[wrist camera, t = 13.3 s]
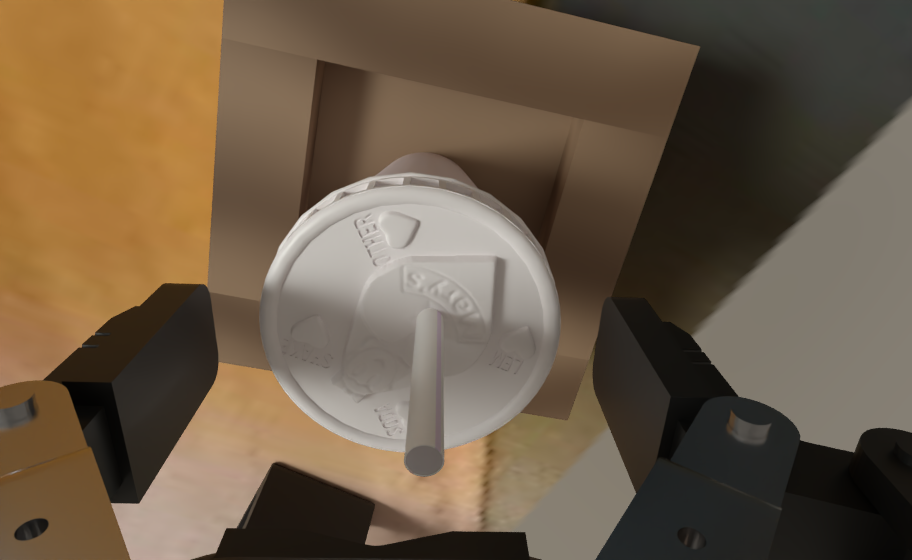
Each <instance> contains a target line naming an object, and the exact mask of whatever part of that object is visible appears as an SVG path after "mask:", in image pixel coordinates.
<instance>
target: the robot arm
mask: <svg viewBox="0 0 912 560" xmlns="http://www.w3.org/2000/svg"><path fill="white" fill-rule="evenodd" d="M218 360H219V358H218V347H217V340H216V333H215V325H214V318H213V311H212V303H211V297H210V293H209V290H208V288H207V287H206V286H205V285H204V284H173V283H165V284H163V285H161V286H160V287H159V288H158V289H157V290H156V291H155V292H154V293H153V294H152V295H151V296H150V297H149V298H148V299H147V300H146V301H145V302H144V303H143V304H141V305H140V306H135V307H133V308H131V309H129V310H127V311H125V312H123V313H121V314H119V315H117V316H115V317H113V318H111V319H110V320H109V321H107V322H106V323H105V324H104V325H103V326H102V327H101V328H100V329H99V330H98V331H96V332H95V336H93V335H92V336H91V337H90V338H89V339H88V340H87V341H85V342H84V343H83V344H82V348H78V349H77V350H76V351H74V352H73V353H72V354H71V355H70V356H69V357H68V358H67V359H66V360H65V361H63V362H62V363H61V364H60V365H59V366H58V367H57V368H56V369H55V370H54V371H52V372H51V373H50V374H49V375H48V376H47V377H46V378H45V379H44V380H43V381H26V382H20V383H15V384H11V385H7V386H4V387H0V560H131V559H130V557H129V554H128V551H127V548H126V545H125V542H124V540H123V537H122V534H121V531H120V528H119V525H118V522H117V520H116V517H115V514H114V511H113V508H112V505H111V503H136V504H139V503H140V501H141V500H142V498H143V496H144V495H145V493H146V491H147V490H148V488H149V487H150V485H151V483H152V482H153V480H154V479H155V477H156V475H157V474H158V472H159V471H160V469H161V467H162V466H163V464H164V463H165V461H166V459H167V458H168V456H169V454H170V453H171V451H172V450H173V448H174V446H175V445H176V443H177V442H178V440H179V438H180V437H181V435H182V434H183V432H184V430H185V429H186V427H187V426H188V424H189V422H190V421H191V419H192V417H193V416H194V414H195V413H196V411H197V409H198V408H199V406H200V405H201V403H202V401H203V400H204V398H205V397H206V395H207V393H208V392H209V390H210V389H211V387H212V385H213V383H214V381H215V379H216V375H217V370H218ZM593 385H594V390H595V394H596V396H597V399H598V401H599V404H600V406H601V409H602V411H603V413H604V416H605V418H606V421H607V423H608V426H609V428H610V430H611V433H612V435H613V438H614V440H615V442H616V445H617V447H618V450H619V452H620V455H621V457H622V460H623V462H624V464H625V467H626V469H627V471H628V474H629V477H630V479H631V481H632V484H633V486H634V489H635V491H636V495H635V497H634V498H633V500H632V502H631V503H630V505H629V506H628V508H627V510H626V512H625V513H624V515H623V516H622V518H621V519H620V521H619V523H618V524H617V526H616V528H615V529H614V531H613V532H612V534H611V535H610V537H609V539H608V540H607V542H606V544H605V545H604V547H603V548H602V550H601V552H600V553H599V555H598V556H597V558H596V560H912V433H910V432H906V431H903V430H897V429H890V428H875V429H870V430H867V431H866V432H864V433H863V434H862V435H861V437H860V439H859V442H858V444H857V447H856V450H855V452H854V453H853V452H849V451H844V450H840V449H835V448H831V447H826V446H821V445H816V444H812V443H808V442H804V441H801V440H800V434H799V431H798V430H797V428H796V426H795V425H794V424H793V422H791V421H790V420H789V419H788V418H787V417H786V416H784V415H783V414H782V413H780V412H779V411H777V410H775V409H774V408H771V407H769V406H767V405H765V404H762V403H760V402H757V401H754V400H750V399H746V398H741V397H738V395H737V394H736V393H735V392H734V390H733V389H732V388H731V386H730V385H729V384H728V382H727V381H726V380H725V379H724V378H723V376H722V375H721V374H720V372H719V371H718V370H717V369H716V367H715V366H714V365H711V361H710V360H709V358H708V357H707V356H706V354H705V353H704V352H701V348H700V347H699V346H698V344H697V343H696V342H695V340H694V339H693V338H692V337H691V335H689V334H688V333H686V332H685V331H683V330H682V329H680V328H679V327H677V326H675V325H674V324H672V323H671V322H662V321H661V320H660V318H659V317H658V315H657V314H656V313H655V311H654V310H653V309H652V307H651V306H650V304H649V303H648V302H647V300H646V299H644V298H623V297H607V298H606V299H605V301H604V303H603V307H602V312H601V318H600V324H599V331H598V337H597V343H596V349H595V356H594V362H593ZM192 560H541V559H537V558H533V557H529V552H528V547H527V540H526V534H525V532H461V531H452V532H447V533H442V534H437V535H432V536H427V537H422V538H417V539H412V540H407V541H402V542H397V543H392V544H387V545H382V546H370V545H365V544H361V543H357V542H352V541H348V540H344V539H340V538H336V537H331V536H327V535H323V534H319V533H314V532H310V531H306V530H302V529H240V528H226V531H225V533H224V536H223V538H222V540H221V543H220V545H219V547H218V550H217V552H216V553H215V554H210V555H205V556H202V557H199V558H195V559H192Z"/></svg>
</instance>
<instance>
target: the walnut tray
mask: <svg viewBox="0 0 912 560" xmlns="http://www.w3.org/2000/svg"><path fill="white" fill-rule="evenodd" d="M699 49H700V46H696V45H691V44H687V43H683V42H679V41H675V40H671V39H667V38H663V37H659V36H655V35H651V34H647V33H643V32H638V31H634V30H630V29H626V28H622V27H618V26H614V25H610V24H606V23H602V22H598V21H594V20H589V19H585V18H581V17H577V16H573V15H569V14H565V13H561V12H557V11H553V10H549V9H545V8H540V7H536V6H532V5H528V4H524V3H520V2H516V1H512V0H224V9H223V26H222V44H221V61H220V78H219V96H218V113H217V131H216V148H215V165H214V183H213V200H212V217H211V235H210V252H209V269H208V287H207V288H208V290H209V293H210V297H211V303H212V311H213V318H214V325H215V333H216V340H217V347H218V358H219V360H218V362H222V363H228V364H234V365H240V366H246V367H252V368H258V369H264V370H270V371H272V369H271V367H270V365H269V362H268V360H267V357H266V354H265V351H264V348H263V344H262V339H261V333H260V322H259V312H260V300H261V294H262V289H263V286H264V282H265V279H266V276H267V274H268V271H269V269H270V266H271V264H272V262H273V260H274V259H275V257H276V254H277V251H278V248H279V246H280V244H281V243H282V241H283V240H284V239H285V237H286V236H287V235H288V233H289V232H290V230H291V229H292V228H293V226H294V225H295V223H296V222H297V221H298V219H299V218H300V217H301V215H303V214H304V213H305V212H307V211H308V210H309V209H310V208H312V207H313V206H314V205H316V204H317V203H318V202H320V201H321V200H322V199H323V198H325V197H326V196H327V195H329V194H330V193H331V192H333V191H335V190H338V189H340V188H343V187H345V186H348V185H350V184H353V183H355V182H358V181H360V180H363V179H365V178H368V177H372V176H376V175H377V174H378V173H379V172H381V171H382V170H383V169H384V168H386V167H387V166H388V165H390V164H391V163H392V162H394V161H395V160H397V159H399V158H401V157H403V156H405V155H408V154H413V153H422V152H425V153H434V154H438V155H441V156H443V157H446V158H448V159H450V160H451V161H453V162H454V163H456V164H457V165H458V166H459V167H460V168H461V169H462V170H463V171H464V172H465V173H466V175H467V176H468V177H469V178H470V179H471V181H472V182H473V183H474V184H475V185H476V187H477V188H478V189H480V190H482V191H485V192H487V193H489V194H491V195H492V196H493V197H495V198H496V199H497V200H499V201H500V202H501V203H502V204H504V205H505V206H506V207H507V208H509V209H510V210H511V211H512V212H514V213H515V214H516V215H518V216H519V217H520V218H521V219H522V220H523V222H524V223H525V224H526V226H527V227H528V229H529V230H530V231H531V233H532V234H533V235H534V237H535V238H536V240H537V241H538V242H539V244H540V245H541V246H542V248H543V250H544V253H545V256H546V258H547V261H548V264H549V267H550V270H551V272H552V275H553V278H554V281H555V287H556V290H557V293H558V298H559V304H560V314H561V330H560V339H559V345H558V349H557V353H556V357H555V360H554V362H553V365H552V368H551V370H550V372H549V374H548V376H547V378H546V380H545V382H544V383H543V385H542V386H541V388H540V390H539V391H538V393H537V394H536V395H535V396H534V398H533V399H532V400H531V401H530V403H529V404H528V405H527V406H526V407H525V408H524V409H523V410H522V411H521V412H520V413H526V414H532V415H538V416H544V417H550V418H556V419H562V420H568V418H569V415H570V412H571V409H572V406H573V404H574V401H575V398H576V395H577V392H578V390H579V387H580V384H581V381H582V378H583V375H584V373H585V370H586V367H587V364H588V361H589V359H590V356H591V353H592V350H593V347H594V344H595V342H596V339H597V336H598V331H599V324H600V318H601V312H602V307H603V303H604V301H605V299H606V298H607V297H612V294H613V291H614V288H615V285H616V283H617V280H618V277H619V274H620V271H621V268H622V266H623V263H624V260H625V257H626V254H627V252H628V249H629V246H630V243H631V240H632V237H633V235H634V232H635V229H636V226H637V223H638V221H639V218H640V215H641V212H642V209H643V206H644V204H645V201H646V198H647V195H648V192H649V190H650V187H651V184H652V181H653V178H654V175H655V173H656V170H657V167H658V164H659V161H660V159H661V156H662V153H663V150H664V147H665V145H666V142H667V139H668V136H669V133H670V130H671V128H672V125H673V122H674V119H675V116H676V114H677V111H678V108H679V105H680V102H681V99H682V97H683V94H684V91H685V88H686V85H687V83H688V80H689V77H690V74H691V71H692V68H693V66H694V63H695V60H696V57H697V54H698V52H699Z"/></svg>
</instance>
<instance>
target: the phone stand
mask: <svg viewBox="0 0 912 560" xmlns="http://www.w3.org/2000/svg"><path fill="white" fill-rule="evenodd" d="M374 507H375V504H373V503H370V502H368V501H365V500H363V499H360V498H358V497H355V496H353V495H350V494H348V493H345V492H343V491H340V490H338V489H335V488H333V487H330V486H328V485H325V484H323V483H320V482H318V481H315V480H313V479H310V478H308V477H305V476H303V475H300V474H298V473H295V472H293V471H290V470H288V469H285V468H283V467H280V466H278V465H275V464H272V465H271V467H270V469H269V471H268V472H267V474H266V476H265V478H264V480H263V481H262V483H261V485H260V487H259V489H258V490H257V492H256V494H255V496H254V498H253V499H252V501H251V503H250V505H249V507H248V508H247V510H246V512H245V514H244V516H243V518H242V520H241V521H240V523H239V525H238V526H237V528H240V529H302V530H306V531H310V532H314V533H319V534H323V535H327V536H331V537H336V538H340V539H344V540H348V541H352V542H357V543H361V544H365V541H366V538H367V534H368V530H369V526H370V522H371V519H372V515H373V511H374Z"/></svg>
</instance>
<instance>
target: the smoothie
mask: <svg viewBox="0 0 912 560" xmlns="http://www.w3.org/2000/svg"><path fill="white" fill-rule="evenodd" d="M259 322H260V333H261V339H262V344H263V348H264V351H265V354H266V357H267V360H268V362H269V365H270V367H271V369H272V371H273V373H274V375H275V377H276V379H277V380H278V382H279V383H280V385H281V386H282V388H283V389H284V391H285V392H286V393H287V395H288V396H289V397H290V398H291V399H292V401H293V402H294V403H295V404H296V405H297V406H298V407H299V408H300V409H301V410H302V411H303V412H304V413H306V414H307V415H308V416H309V417H310V418H312V419H313V420H314V421H316V422H317V423H319V424H320V425H321V426H323V427H324V428H326V429H328V430H330V431H331V432H333V433H335V434H337V435H339V436H341V437H343V438H345V439H348V440H350V441H353V442H356V443H358V444H361V445H365V446H368V447H372V448H376V449H381V450H387V451H395V452H405V457H404V463H405V466H406V468H407V469H408V470H409V471H410V472H411V473H413V474H415V475H417V476H424V477H425V476H431V475H434V474H436V473H437V472H439V471H440V470H441V469H442V467H443V465H444V449H449V448H454V447H457V446H461V445H464V444H467V443H470V442H472V441H475V440H478V439H480V438H482V437H484V436H486V435H488V434H490V433H492V432H494V431H495V430H497V429H499V428H500V427H502V426H503V425H505V424H506V423H507V422H509V421H510V420H512V419H513V418H514V417H515V416H516V415H517V414H519V413H520V412H521V411H522V410H523V409H524V408H525V407H526V406H527V405H528V404H529V403H530V401H531V400H532V399H533V398H534V396H535V395H536V394H537V393H538V391H539V390H540V388H541V386H542V385H543V383H544V382H545V380H546V378H547V376H548V374H549V372H550V370H551V368H552V365H553V362H554V360H555V357H556V353H557V349H558V345H559V339H560V330H561V314H560V304H559V298H558V293H557V290H556V287H555V281H554V278H553V275H552V272H551V270H550V267H549V264H548V261H547V258H546V256H545V253H544V250H543V248H542V246H541V245H540V244H539V242H538V241H537V240H536V238H535V237H534V235H533V234H532V233H531V231H530V230H529V229H528V227H527V226H526V224H525V223H524V222H523V220H522V219H521V218H520V217H519V216H518V215H516V214H515V213H514V212H512V211H511V210H510V209H509V208H507V207H506V206H505V205H504V204H502V203H501V202H500V201H499V200H497V199H496V198H495V197H493V196H492V195H491V194H489V193H487V192H485V191H482V190H480V189H478V188H477V187H476V185H475V184H474V183H473V182H472V181H471V179H470V178H469V177H468V176H467V175H466V173H465V172H464V171H463V170H462V169H461V168H460V167H459V166H458V165H457V164H456V163H454V162H453V161H451V160H450V159H448V158H446V157H443V156H441V155H438V154H434V153H425V152H422V153H413V154H408V155H405V156H403V157H401V158H399V159H397V160H395V161H394V162H392V163H391V164H390V165H388V166H387V167H386V168H384V169H383V170H382V171H381V172H379V173H378V174H377V175H376V176H372V177H368V178H365V179H363V180H360V181H358V182H355V183H353V184H350V185H348V186H345V187H343V188H340V189H338V190H335V191H333V192H331V193H330V194H329V195H327V196H326V197H325V198H323V199H322V200H321V201H320V202H318V203H317V204H316V205H314V206H313V207H312V208H310V209H309V210H308V211H307V212H305V213H304V214H303V215H301V217H300V218H299V219H298V221H297V222H296V223H295V225H294V226H293V228H292V229H291V230H290V232H289V233H288V235H287V236H286V237H285V239H284V240H283V241H282V243H281V244H280V246H279V248H278V251H277V254H276V257H275V259H274V260H273V262H272V264H271V266H270V269H269V271H268V274H267V276H266V279H265V282H264V286H263V289H262V294H261V300H260V312H259Z"/></svg>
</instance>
